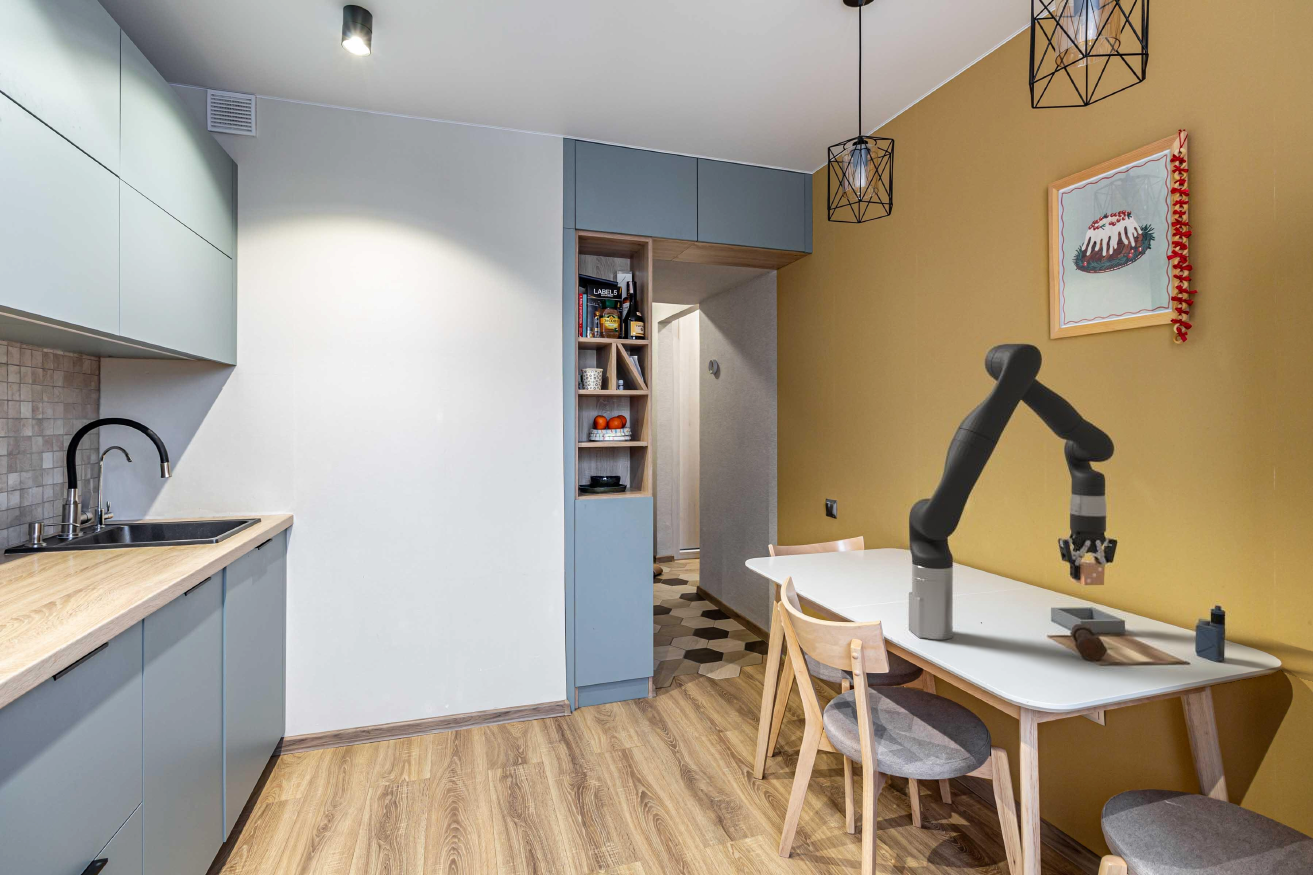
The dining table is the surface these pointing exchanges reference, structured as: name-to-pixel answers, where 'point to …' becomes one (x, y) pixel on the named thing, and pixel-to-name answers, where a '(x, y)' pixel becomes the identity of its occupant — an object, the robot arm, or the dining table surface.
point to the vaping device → (1211, 636)
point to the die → (1090, 573)
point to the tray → (1088, 619)
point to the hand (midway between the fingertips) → (1087, 578)
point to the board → (1124, 651)
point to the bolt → (1088, 643)
